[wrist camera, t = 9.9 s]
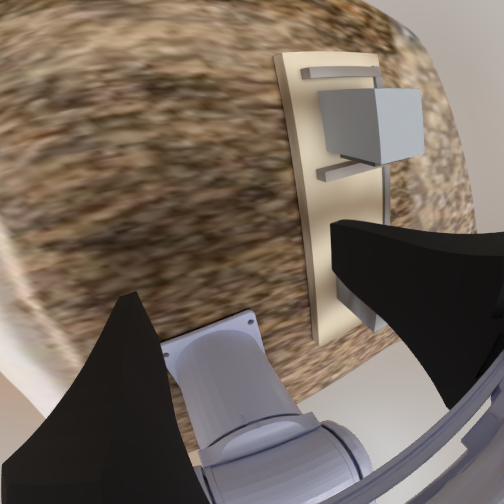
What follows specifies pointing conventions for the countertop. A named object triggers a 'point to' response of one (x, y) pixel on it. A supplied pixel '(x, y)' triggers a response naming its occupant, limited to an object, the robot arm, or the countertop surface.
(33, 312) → the countertop surface
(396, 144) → the finger part
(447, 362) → the robot arm
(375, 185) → the rail
